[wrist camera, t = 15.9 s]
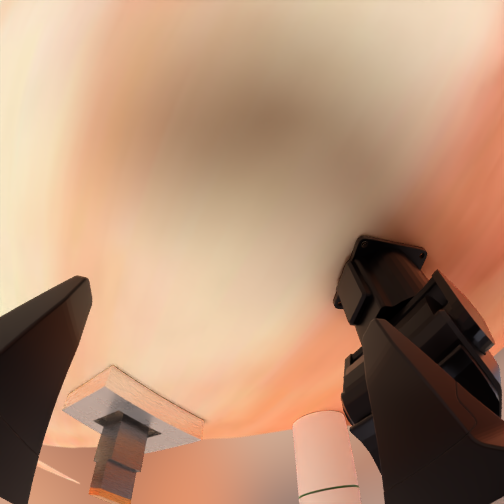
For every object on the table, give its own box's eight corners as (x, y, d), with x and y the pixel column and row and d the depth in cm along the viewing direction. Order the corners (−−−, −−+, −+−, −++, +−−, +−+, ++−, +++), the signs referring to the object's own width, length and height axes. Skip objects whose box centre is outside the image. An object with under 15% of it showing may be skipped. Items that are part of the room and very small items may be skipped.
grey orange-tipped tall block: (128, 397, 32) (102, 495, 20) (152, 412, 33) (134, 507, 21) (110, 405, 33) (85, 493, 21) (133, 419, 35) (113, 505, 23)
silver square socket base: (112, 365, 28) (104, 386, 26) (203, 420, 34) (201, 440, 31) (68, 394, 33) (62, 410, 30) (144, 438, 38) (141, 454, 36)
